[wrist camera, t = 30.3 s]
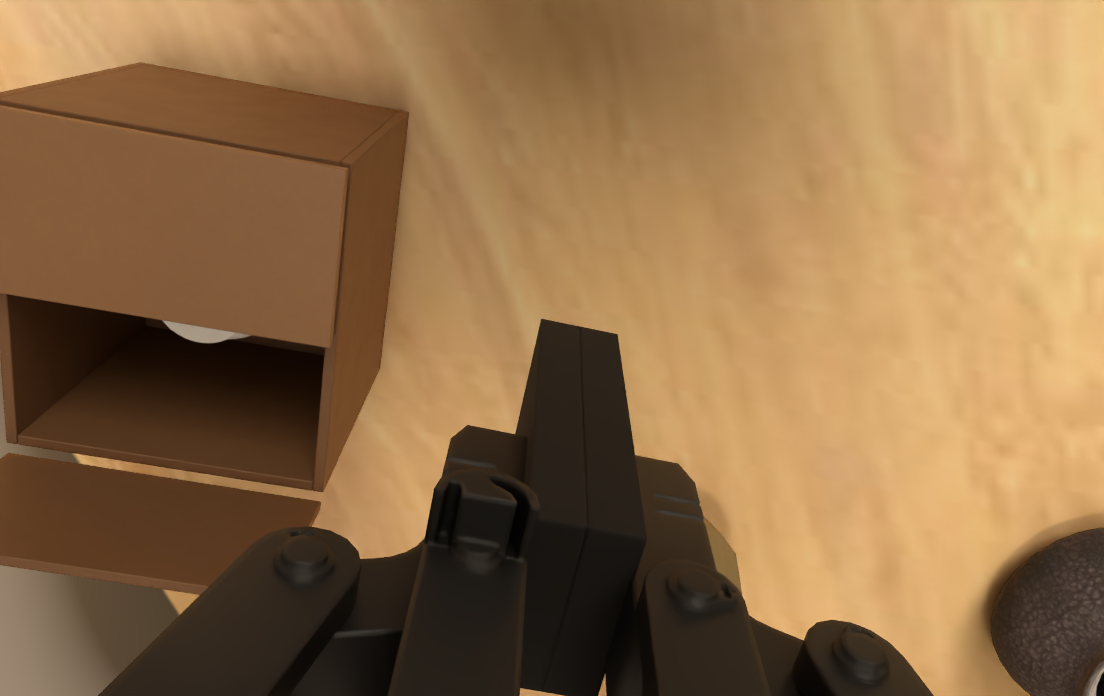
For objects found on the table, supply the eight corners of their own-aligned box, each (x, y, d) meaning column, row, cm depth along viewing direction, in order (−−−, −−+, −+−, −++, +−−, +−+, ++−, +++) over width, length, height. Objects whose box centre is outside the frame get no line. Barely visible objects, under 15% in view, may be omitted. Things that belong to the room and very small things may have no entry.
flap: (-26, 100, 30) (-33, 101, 29) (349, 167, 31) (346, 170, 30) (-14, 286, 32) (-20, 290, 32) (332, 345, 33) (329, 348, 33)
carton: (139, 62, 42) (-172, 128, 24) (409, 112, 42) (300, 211, 25) (141, 342, 47) (-109, 563, 30) (378, 381, 48) (272, 619, 30)
